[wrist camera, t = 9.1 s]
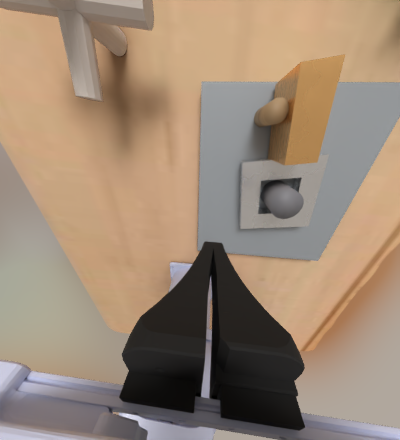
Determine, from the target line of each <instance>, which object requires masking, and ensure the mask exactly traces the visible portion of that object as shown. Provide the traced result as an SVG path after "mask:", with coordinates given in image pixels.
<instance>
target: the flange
mask: <svg viewBox="0 0 400 440" xmlns="http://www.w3.org/2000/svg"><path fill="white" fill-rule="evenodd" d="M344 58H345V55H339V56H333V57H328V58H322V59H316V60H310V61H305V62H301V63H299V64H298V65H297V66H296V67H295V68H294V69H293V70H292V71H290V72H289V73H288V74H287V75H286V76H285V77H284V78H282V79H281V80H280V81H279V82H278V83H277V84H276V85H275V94H274V99H275V98H278V97H282V98H285V99H286V100H287V101H288V104H289V112H288V114H287V116H286V118H285V119H284V120H283V121H282V122H280V123H278V124H274V125H271V132H270V142H269V151H268V158H267V159H256V160H246V161H241V170H240V212H239V225H240V229H251V228H279V227H306V226H309V224H310V220H311V217H312V213H313V210H314V206H315V203H316V199H317V196H318V192H319V189H320V185H321V182H322V178H323V175H324V171H325V168H326V164H327V161H328V157H329V154H323V153H320V151H321V147H322V143H323V139H324V135H325V131H326V127H327V124H328V120H329V116H330V112H331V108H332V104H333V100H334V96H335V93H336V89H337V85H338V81H339V77H340V73H341V69H342V65H343V61H344ZM289 178H296V179H295V184H294V190H296V191H297V192H298V193H300V194H301V195H302V197H303V199H304V204H303V207H302V209H301V210H300V212H299V213H298V214H296V215H295V216H293V217H291V218H288V219H280V218H277V217H275V216H274V215H273V214H272V213H271V211H270V210H269V209H262V210H258V209H259V198H260V187H261V181H263V180H276V179H289Z"/></svg>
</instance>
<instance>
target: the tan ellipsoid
mask: <svg viewBox="0 0 400 440" xmlns="http://www.w3.org/2000/svg"><path fill="white" fill-rule="evenodd" d="M288 112H289V104H288V101H287V100H286V99H285V98H282V97H278V98H275V99H274V100H272V101H271V102H269V103H268V104H266V105H264V106H263V107H261V108H260V109H258V110H257V112H256V113H255V116H254V122H255V124H256V125H257V126H258V127H264V126H269V125H274V124H278V123H280V122H282V121H283V120H284V119H285V118H286V116H287V114H288Z"/></svg>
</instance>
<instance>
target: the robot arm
mask: <svg viewBox="0 0 400 440" xmlns="http://www.w3.org/2000/svg"><path fill="white" fill-rule="evenodd" d="M170 273H171V285H170V288H169V291H168V294H167V295H165V296H164V297H163V298H162V299H161V300H160V301H159V302H158V303H157V304H156V305H154V306H153V307H152V308H151V309H149V310H148V311H147V312H146V313H144V314H143V315H142V316H141V317H140V319H139V320H138V322H137V323H136V325H135V327H134V329H133V330H132V332H131V334H130V336H129V338H128V341H127V343H126V346H125V348H124V350H123V353H122V357H123V361H124V362H125V364H126V366H127V368H128V370H129V372H128V375H127V377H126V380H125V383H124V385H119V384H113V383H107V382H101V381H94V380H88V379H81V378H75V377H68V376H62V375H55V374H49V373H43V372H37V371H31V369H30V368H29V367H27V366H26V365H24V364H21V363H17V362H13V361H6V360H0V440H213V435H214V433H215V431H216V429H219V430H226V431H231V432H237V433H243V434H249V435H254V436H261V437H266V438H272V439H278V440H400V428H396V427H389V426H383V425H377V424H370V423H364V422H357V421H351V420H345V419H338V418H332V417H325V416H319V415H312V414H306V413H301V412H300V408H299V405H298V402H297V399H296V396H298V392H297V389H296V386H295V382H294V380H296V379H297V378H298V377H299V376H300V375H301V374H302V372H303V370H304V363H303V360H302V358H301V355H300V353H299V351H298V349H297V346H296V344H295V342H294V340H293V338H292V336H291V335H290V334H289V333H288V332H287V331H286V330H285V329H284V328H283V327H282V326H281V325H280V324H279V323H278V322H277V321H276V320H275V319H274V318H273V317H272V316H271V315H270V314H269V313H268V312H267V311H266V310H265V309H264V308H263V307H262V305H261V304H260V303H259V302H258V301H257V300H256V299H255V297H254V296H253V295H252V294H251V293H250V291H249V290H248V289H247V287H246V286H245V285H244V283H243V282H242V280H241V279H240V277H239V276H238V274H237V273H236V271H235V269H234V268H233V266H232V264H231V262H230V260H229V258H228V256H227V254H226V252H225V249H224V246H223V244H222V243H219V242H207V241H205V242H204V243H203V246H202V249H201V251H200V253H199V254H198V256H197V258H196V260H195V261H194V263H193V264H188V263H177V262H171V263H170ZM211 299H212V309H213V312H212V330H211V329H209V325H210V300H211ZM112 411H113V412H119V415H116V414H113V413H112Z"/></svg>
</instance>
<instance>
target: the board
mask: <svg viewBox="0 0 400 440" xmlns="http://www.w3.org/2000/svg"><path fill="white" fill-rule="evenodd" d="M277 83H278V82H202V91H201V132H200V173H199V215H198V251H201V249H202V246H203V243H204V242H205V241H207V242H219V243H222V244H223V246H224V249H225V252H226V253H232V254H244V255H256V256H267V257H279V258H291V259H302V260H314V261H318V260H319V258H320V256H321V255H322V253H323V251H324V249H325V247H326V246H327V244H328V242H329V240H330V239H331V237H332V235H333V233H334V232H335V230H336V228H337V226H338V225H339V223H340V221H341V219H342V217H343V216H344V214H345V212H346V210H347V209H348V207H349V205H350V203H351V202H352V200H353V198H354V196H355V195H356V193H357V191H358V189H359V187H360V186H361V184H362V182H363V180H364V179H365V177H366V175H367V173H368V172H369V170H370V168H371V166H372V165H373V163H374V161H375V159H376V157H377V156H378V154H379V152H380V150H381V149H382V147H383V145H384V143H385V142H386V140H387V138H388V136H389V135H390V133H391V131H392V129H393V127H394V126H395V124H396V122H397V120H398V119H399V117H400V83H394V82H338V85H337V89H336V93H335V96H334V100H333V104H332V108H331V112H330V116H329V120H328V124H327V127H326V131H325V135H324V139H323V143H322V147H321V151H320V153H323V154H329V157H328V161H327V164H326V168H325V171H324V175H323V178H322V182H321V185H320V189H319V192H318V196H317V199H316V203H315V206H314V210H313V213H312V217H311V220H310V224H309V226H306V227H279V228H251V229H240V225H239V212H240V170H241V161H246V160H256V159H267V158H268V151H269V142H270V132H271V125H269V126H264V127H258V126H257V125H256V124H255V122H254V116H255V113H256V112H257V110H258V109H260V108H261V107H263V106H264V105H266V104H268V103H269V102H271V101H272V100H274V94H275V85H276V84H277ZM295 179H296V178H289V179H276V180H263V181H261V187H260V198H259V209H258V210H262V209H269V210H270V211H271V213H272V214H273V215H274V216H275V217H277V218H280V219H288V218H291V217H293V216H295V215H296V214H298V213H299V212H300V210H301V209H302V207H303V204H304V199H303V197H302V195H301V194H300V193H298V192H297V191H296V190H294V184H295Z"/></svg>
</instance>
